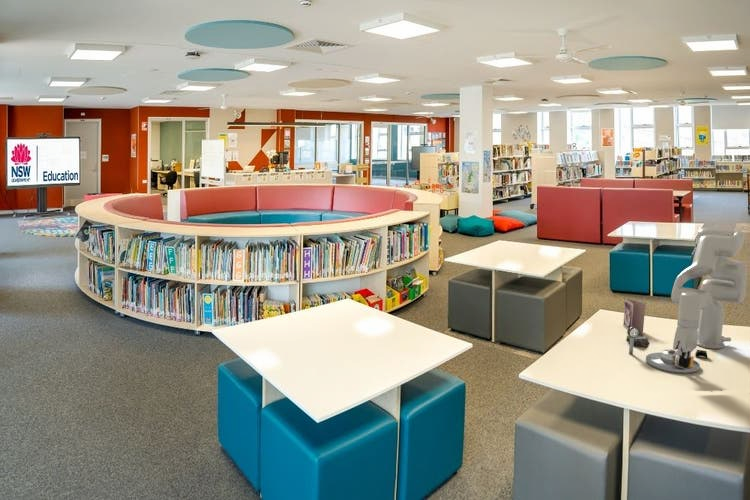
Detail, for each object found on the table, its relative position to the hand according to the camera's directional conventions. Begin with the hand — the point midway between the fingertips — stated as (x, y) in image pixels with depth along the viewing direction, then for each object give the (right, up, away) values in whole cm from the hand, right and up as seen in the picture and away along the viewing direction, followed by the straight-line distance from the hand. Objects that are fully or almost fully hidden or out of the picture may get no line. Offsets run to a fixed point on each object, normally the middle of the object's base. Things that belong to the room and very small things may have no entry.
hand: (683, 366), depth 222 cm
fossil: (-2, +2, +35) cm, 35 cm away
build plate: (+18, -2, +18) cm, 25 cm away
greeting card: (+7, +6, +59) cm, 60 cm away
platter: (0, -1, +9) cm, 9 cm away
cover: (-1, 0, +8) cm, 8 cm away
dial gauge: (-10, 0, +21) cm, 24 cm away
